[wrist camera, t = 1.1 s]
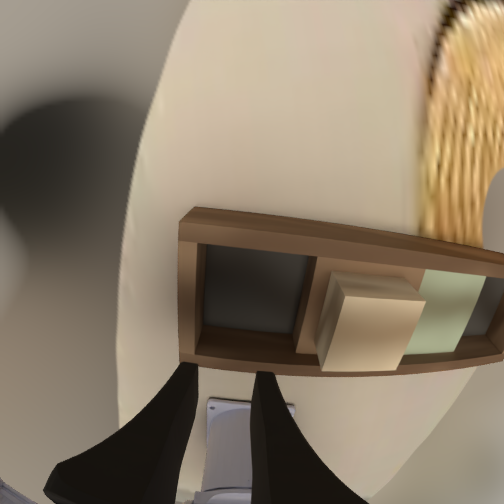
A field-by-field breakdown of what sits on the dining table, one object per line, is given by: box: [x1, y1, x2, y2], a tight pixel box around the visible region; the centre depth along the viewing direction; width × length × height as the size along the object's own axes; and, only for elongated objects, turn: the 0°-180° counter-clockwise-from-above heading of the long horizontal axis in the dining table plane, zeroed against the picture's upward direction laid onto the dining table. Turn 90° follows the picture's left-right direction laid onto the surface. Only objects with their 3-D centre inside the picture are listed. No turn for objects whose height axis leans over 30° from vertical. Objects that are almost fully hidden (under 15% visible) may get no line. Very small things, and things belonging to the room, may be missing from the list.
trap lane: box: [178, 207, 504, 377], centre depth 18 cm, size 9×29×4 cm, turn 84°
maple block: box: [314, 271, 426, 372], centre depth 16 cm, size 5×5×3 cm
